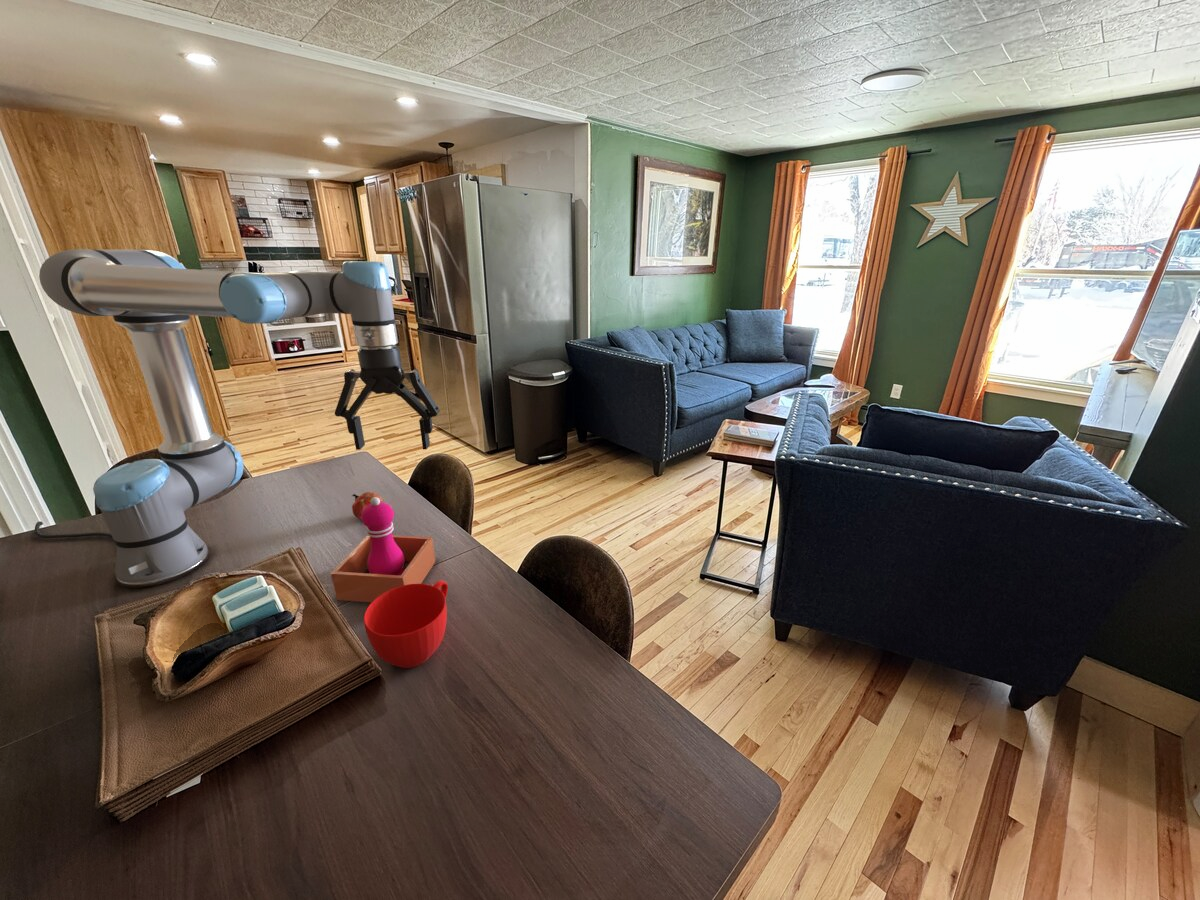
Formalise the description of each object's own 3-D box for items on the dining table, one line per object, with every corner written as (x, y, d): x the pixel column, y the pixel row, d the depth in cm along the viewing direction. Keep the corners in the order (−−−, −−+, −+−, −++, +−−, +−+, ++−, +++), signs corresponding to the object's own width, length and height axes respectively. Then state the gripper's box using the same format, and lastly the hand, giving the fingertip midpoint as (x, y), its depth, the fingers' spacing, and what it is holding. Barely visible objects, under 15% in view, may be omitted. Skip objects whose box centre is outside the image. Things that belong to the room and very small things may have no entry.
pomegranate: (390, 518, 129) (364, 493, 130) (396, 505, 124) (370, 479, 125) (367, 534, 123) (340, 507, 124) (373, 520, 119) (345, 492, 119)
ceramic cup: (477, 622, 91) (473, 579, 87) (419, 693, 76) (411, 645, 72) (421, 606, 94) (415, 564, 91) (355, 670, 79) (344, 624, 76)
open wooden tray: (337, 600, 95) (330, 573, 93) (373, 557, 109) (369, 533, 106) (407, 604, 95) (402, 578, 92) (435, 561, 108) (432, 537, 106)
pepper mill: (394, 592, 98) (379, 508, 90) (363, 587, 99) (346, 504, 91) (413, 571, 104) (401, 491, 97) (384, 567, 106) (370, 487, 98)
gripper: (301, 349, 88) (324, 454, 96) (438, 350, 89) (449, 453, 97) (320, 342, 94) (340, 441, 103) (447, 343, 96) (457, 440, 104)
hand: (393, 447), depth 100 cm, fingers open, 13 cm apart
